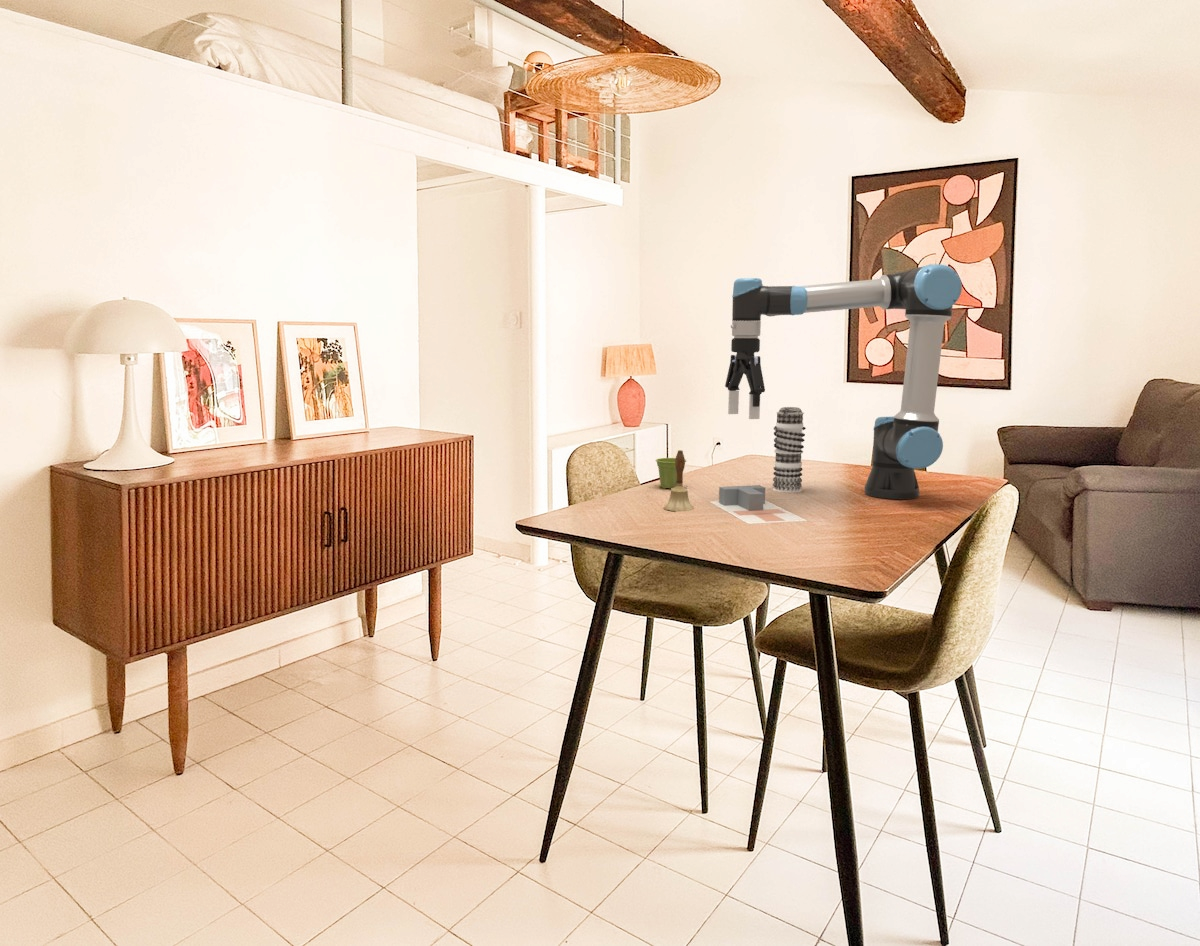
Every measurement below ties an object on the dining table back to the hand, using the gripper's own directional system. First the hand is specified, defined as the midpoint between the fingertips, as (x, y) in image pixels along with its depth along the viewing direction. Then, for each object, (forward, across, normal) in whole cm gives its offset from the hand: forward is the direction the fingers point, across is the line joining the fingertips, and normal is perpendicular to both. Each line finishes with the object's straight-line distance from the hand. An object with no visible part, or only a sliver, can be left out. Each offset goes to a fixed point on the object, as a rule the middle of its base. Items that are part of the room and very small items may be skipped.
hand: (743, 416), depth 227 cm
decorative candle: (+25, -16, +22) cm, 37 cm away
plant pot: (+25, -29, -10) cm, 40 cm away
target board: (+24, +9, 0) cm, 26 cm away
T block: (+24, +3, +1) cm, 25 cm away
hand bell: (+25, 0, -18) cm, 31 cm away
